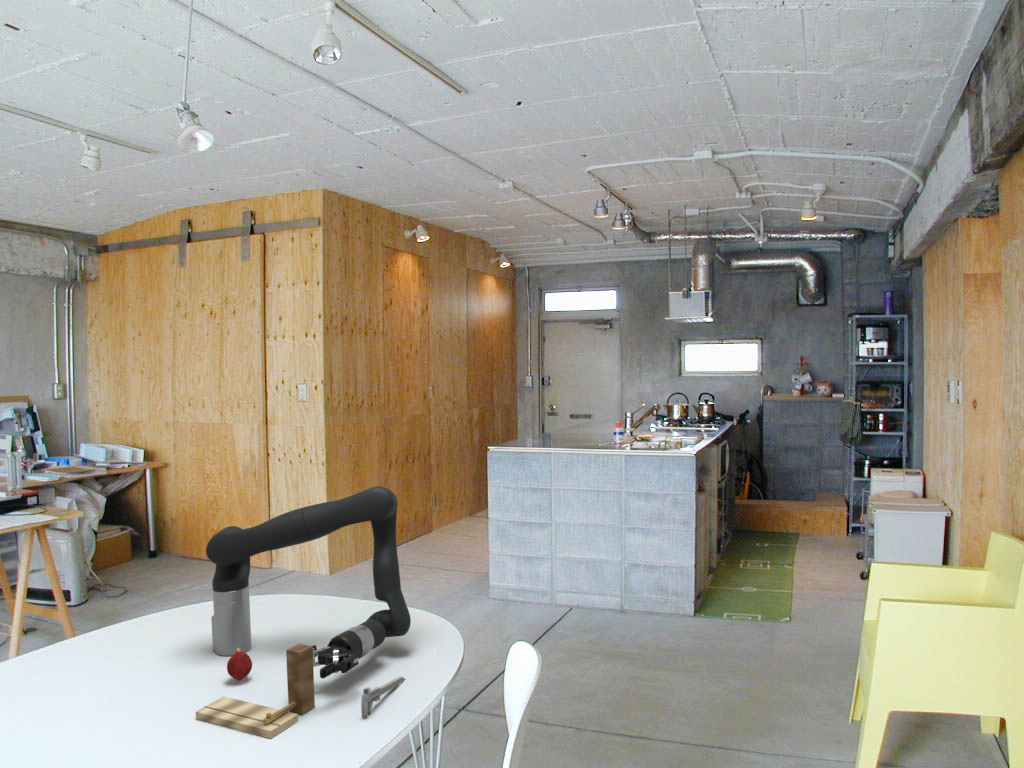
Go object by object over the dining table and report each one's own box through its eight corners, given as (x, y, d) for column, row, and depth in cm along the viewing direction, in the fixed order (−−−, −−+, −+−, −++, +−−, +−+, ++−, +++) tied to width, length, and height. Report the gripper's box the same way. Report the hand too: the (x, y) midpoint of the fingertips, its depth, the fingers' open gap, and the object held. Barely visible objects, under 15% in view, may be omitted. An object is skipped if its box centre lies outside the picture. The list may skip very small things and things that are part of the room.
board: (196, 718, 165) (195, 711, 165) (224, 703, 173) (224, 696, 172) (271, 738, 156) (270, 730, 156) (298, 721, 163) (297, 713, 163)
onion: (257, 677, 186) (256, 645, 186) (242, 687, 181) (240, 654, 181) (238, 674, 188) (236, 643, 188) (222, 684, 183) (221, 651, 183)
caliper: (366, 720, 163) (364, 691, 163) (361, 719, 163) (360, 691, 163) (405, 680, 182) (404, 654, 182) (401, 679, 183) (400, 654, 183)
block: (258, 730, 159) (255, 665, 159) (301, 704, 171) (298, 643, 170) (272, 734, 157) (270, 668, 157) (314, 707, 169) (312, 646, 168)
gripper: (328, 626, 187) (281, 650, 172) (374, 634, 181) (330, 659, 166) (329, 656, 187) (282, 682, 173) (376, 664, 181) (332, 692, 166)
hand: (306, 671), depth 169 cm, fingers open, 8 cm apart
